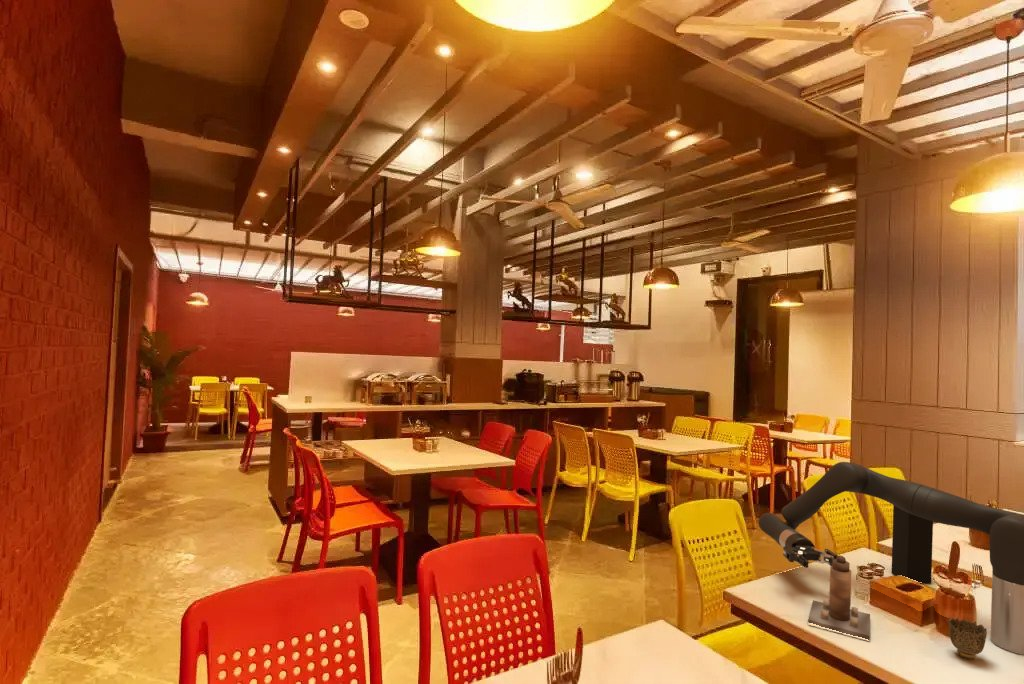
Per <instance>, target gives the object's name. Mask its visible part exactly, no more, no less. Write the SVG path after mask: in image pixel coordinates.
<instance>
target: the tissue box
mask: <svg viewBox="0 0 1024 684" xmlns="http://www.w3.org/2000/svg"><path fill="white" fill-rule="evenodd" d="M892 506H893V508H892V509H893V510H892V511H893V512H892V514H893V515H892V538H891V539H892V544H891V575H893V576H895V575H902V576H905V577H908V578H910V579H913V580H916V581H918V582H922V583H925V584H926V585H927V584H928V585H932V569H933V568H932V566H933V542H934V541H933V538H934V537H933V536H934V533H933V532H934V522H933V521H929V520H926V519H924V518H921V517H918V516H915V515H913V514H910V513H908V512H906V511H903V510H901V509H900V508H898V507H896V506H894V505H892ZM925 584H924V585H925Z"/></svg>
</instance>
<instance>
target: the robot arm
mask: <svg viewBox="0 0 1024 684" xmlns="http://www.w3.org/2000/svg"><path fill="white" fill-rule="evenodd" d="M845 492H846V493H847V492H849V493H857V494H863V495H866V496H870V497H872V498H873V497H874V498H877V499H881V500H882V501H885V502H887V503H889V504H890V505H892V506H893V505H894V506H896V507H898V508H900V509H901V510H903V511H906V512H908V513H910V514H913V515H915V516H918V517H921V518H924V519H926V520H929V521H933V523H937V524H942V525H946V526H947V525H948V526H951V527H959V528H965V529H970V530H975V531H978V532H980V533H984V534H987V535H989V563H990V565H991V568H992V573H991V574H992V575H991V576H992V577H991V604H990V606H991V607H990V630H989V634H990V641H991V643H993V644H994V645H996V646H997V647H1000V648H1002V649H1003V650H1006V651H1009V652H1012V653H1015V654H1018V655H1023V656H1024V514H1022V513H1018V512H1014V511H1008V510H1006V509H1001V508H997V507H993V506H988V505H984V504H981V503H978V502H975V501H972V500H970V499H966V498H963V497H962V496H958V495H955V494H952V493H950V492H946V491H943V490H942V489H937V488H934V487H931V486H928V485H925V484H921V483H917V482H915V481H909V480H905V479H900V478H895V477H891V476H888V475H885V474H883V473H879V472H877V471H874V470H873V469H870V468H868V467H867V466H866V467H865V466H864V465H861V464H859V463H855V462H849V461H840V462H837V463H835V464H834V465H832V466H831V467H830V469H828V470H827V471H826V472H825V473H824V474H823V476H822V477H821V478H820V479H818V480H817V481H816V482H815V483H814V484H813V485H812V486H811V487H810V488H809V489H807V490H806V491H804V492H803V493H802V494H801V495H799V496H798V497H796V498H795V499H793V500H792V501H790V502H789V503H788V504H786V505H784V506H783V507H782V508H781V516H782V517H783V518H784V520H785V521H783V519H780V517H779V516H777V515H775V514H774V513H772V512H771V513H770V512H766V513H765V512H764V513H763V514H761V515H760V517H759V518H758V526H759V529H760V530H761V531H762V532H763V533H765V534H766V535H767V536H769V537H770V538H771V539H773V541H775V542H776V543H777V544H778V545H779V546H780V547H782V556H783V557H784V558H785V559H786V560H787V561H788V562H790V563H794V562H796V564H800V565H801V566H802V567H804V568H805V569H809V562H816V563H818V564H822V565H823V564H827V565H828V566H830V567H831V566H832V564H833V560H834V559H836V558H837V557H838V556H839V555H837V554H836V553H835V552H833V551H832V550H830V549H828V548H824V551H823V550H821V549H818V548H816V546H815V544H814V543H813V541H812V540H811V539H810V538H808V537H806V536H805V535H803V534H802V533H801V532H800V531H798V530H796V529H797V528H798V527H799V526H800V525H801V524H802V523H804V522H805V521H808V519H810V518H812V517H813V516H815V514H817V513H818V512H819V510H820V509H822V507H823V505H824V504H826V502H827V501H829V500H830V499H832V498H834V497H836V496H837V495H840V494H842V493H845Z"/></svg>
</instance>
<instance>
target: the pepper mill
mask: <svg viewBox="0 0 1024 684" xmlns="http://www.w3.org/2000/svg"><path fill="white" fill-rule="evenodd" d="M850 564H851V563H850V562H848V561H847V560H846V558H845V556H843V555H838V557H837V558H836V559H834V560H833V564H832V566H830V567H829V598H828V599H829V600H828V601H829V616H830V617H832V618H834V619H836V620H839V621H849V620H850V609H851V599H852V597H851V596H852V570H851V568H850Z"/></svg>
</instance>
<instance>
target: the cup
mask: <svg viewBox="0 0 1024 684" xmlns="http://www.w3.org/2000/svg"><path fill="white" fill-rule="evenodd" d="M947 621H948V630H949V631H948V632H949V633H948V634H949V638H950V639H949V640H950V641H951V644H952V645H953V647H955V648H956V653H957V655H958V656H959V657H961V658H963V659H964V658H965V660H968V661H974V660H976V659H977V655H978V654H980V653H982V652H983V650H984V648H985V644H986V641H987V640H986V639H987V634H988V629H987V628H986V627H984V625H983V624H977V622H976V621H973V623H972V622H971V620H970V619H967V620H966V619H965V618H962V619H961V620H960V619H959V618H958V617H956V618H953V617H950V618H949V619H947Z"/></svg>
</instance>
